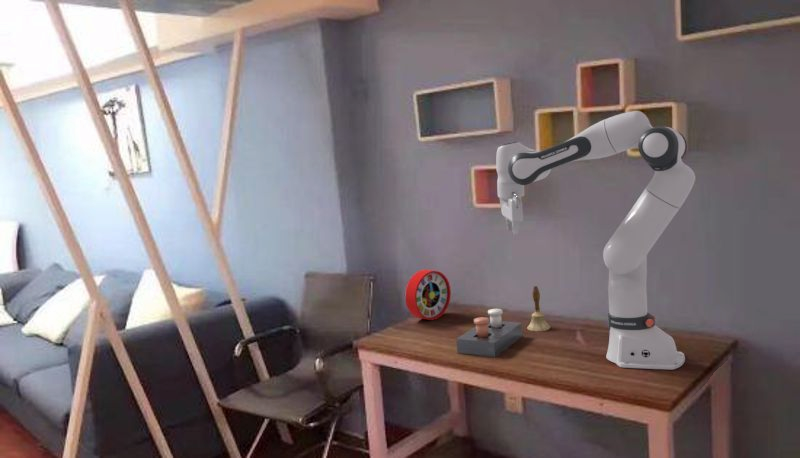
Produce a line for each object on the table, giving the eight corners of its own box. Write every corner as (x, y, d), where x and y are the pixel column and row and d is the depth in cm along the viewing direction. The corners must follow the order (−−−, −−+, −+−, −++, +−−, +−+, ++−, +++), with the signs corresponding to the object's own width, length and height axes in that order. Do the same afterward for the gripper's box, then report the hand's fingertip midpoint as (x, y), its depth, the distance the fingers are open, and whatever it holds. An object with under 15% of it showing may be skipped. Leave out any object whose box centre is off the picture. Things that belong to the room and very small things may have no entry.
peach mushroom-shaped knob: (492, 334, 220) (491, 317, 219) (486, 338, 215) (485, 322, 215) (479, 332, 222) (477, 316, 222) (472, 337, 218) (471, 320, 217)
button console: (522, 336, 230) (521, 322, 229) (495, 357, 211) (493, 342, 210) (486, 332, 237) (485, 319, 237) (457, 353, 218) (456, 338, 218)
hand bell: (550, 331, 232) (547, 288, 230) (527, 332, 234) (524, 289, 232) (549, 324, 240) (547, 282, 238) (527, 325, 242) (524, 284, 240)
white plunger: (506, 324, 229) (505, 309, 228) (500, 329, 224) (498, 313, 224) (492, 323, 232) (491, 308, 231) (486, 328, 227) (485, 312, 226)
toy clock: (417, 325, 255) (412, 276, 253) (407, 323, 260) (403, 275, 257) (452, 313, 268) (448, 266, 266) (442, 311, 273) (438, 265, 270)
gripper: (526, 193, 204) (528, 236, 206) (514, 188, 224) (516, 227, 226) (507, 194, 204) (509, 237, 206) (496, 189, 224) (498, 228, 226)
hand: (512, 232), depth 216 cm, fingers open, 8 cm apart
